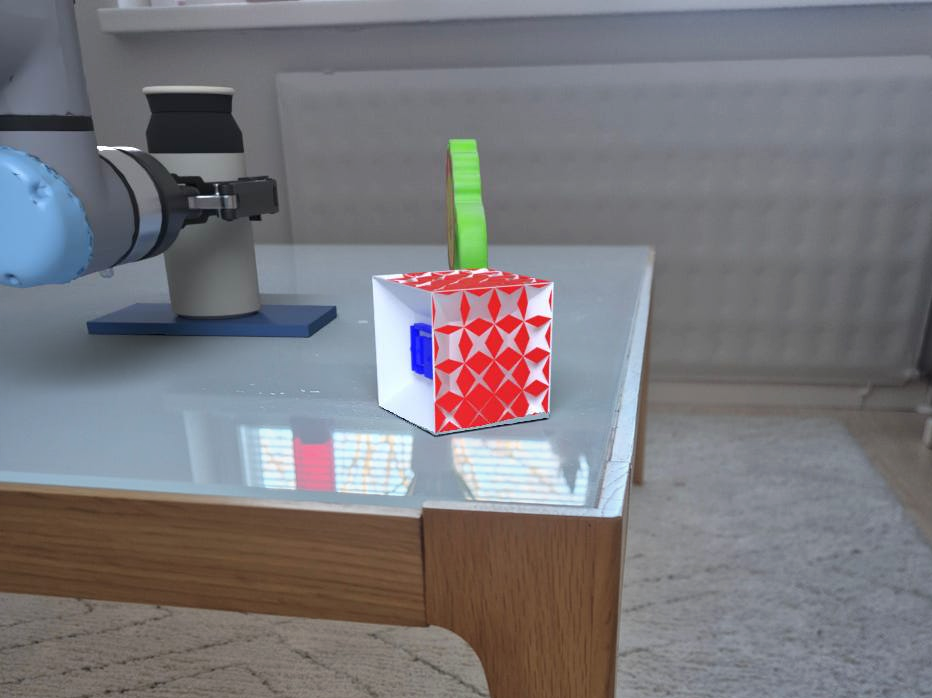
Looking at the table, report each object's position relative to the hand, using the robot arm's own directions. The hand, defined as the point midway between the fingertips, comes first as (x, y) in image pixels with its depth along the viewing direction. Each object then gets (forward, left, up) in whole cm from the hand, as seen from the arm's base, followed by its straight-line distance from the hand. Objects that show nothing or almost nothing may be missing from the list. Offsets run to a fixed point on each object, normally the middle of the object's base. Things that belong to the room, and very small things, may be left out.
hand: (220, 191), depth 86 cm
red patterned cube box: (+26, -35, -11) cm, 45 cm away
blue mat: (0, -5, -11) cm, 12 cm away
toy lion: (+24, -13, -11) cm, 29 cm away
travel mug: (0, -5, -10) cm, 11 cm away
